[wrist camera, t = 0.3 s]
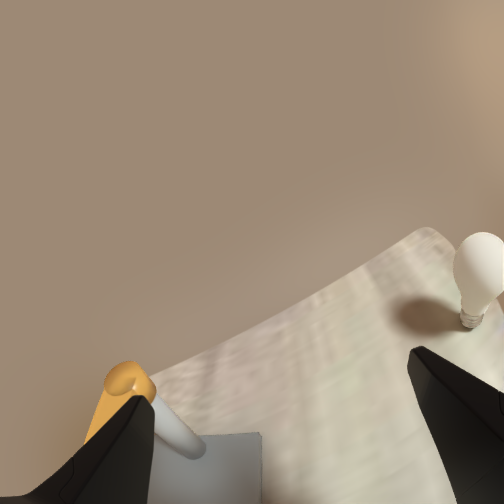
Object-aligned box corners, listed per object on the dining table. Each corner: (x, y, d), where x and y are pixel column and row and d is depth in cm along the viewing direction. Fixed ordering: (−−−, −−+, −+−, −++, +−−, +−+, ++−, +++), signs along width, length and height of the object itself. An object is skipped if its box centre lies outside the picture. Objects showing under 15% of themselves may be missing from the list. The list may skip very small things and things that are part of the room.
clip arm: (126, 379, 18) (112, 362, 17) (160, 378, 18) (146, 359, 17) (73, 589, 3) (46, 583, 2) (114, 609, 3) (88, 608, 2)
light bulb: (456, 353, 22) (478, 263, 17) (435, 311, 28) (444, 226, 23) (502, 335, 21) (529, 248, 16) (478, 298, 26) (492, 216, 21)
